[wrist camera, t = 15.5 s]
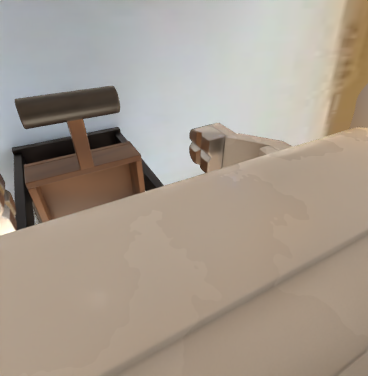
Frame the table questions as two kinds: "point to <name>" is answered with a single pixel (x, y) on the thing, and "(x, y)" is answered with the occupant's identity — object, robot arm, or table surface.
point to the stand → (55, 150)
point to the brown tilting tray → (79, 155)
